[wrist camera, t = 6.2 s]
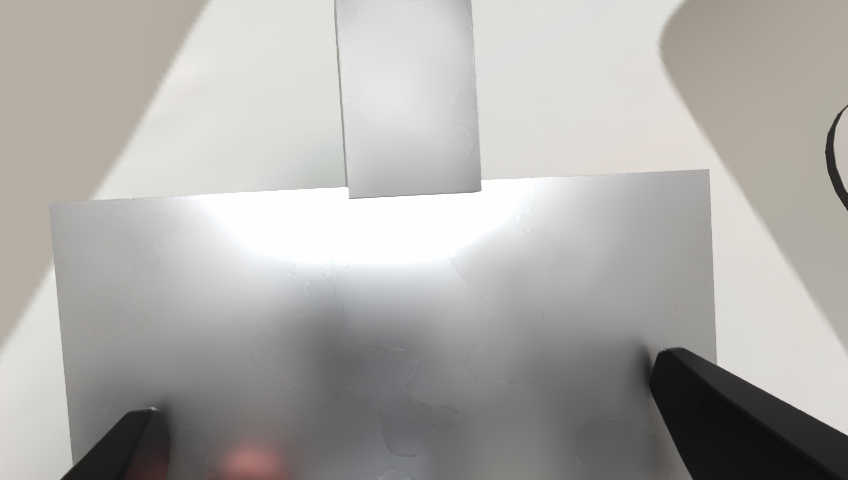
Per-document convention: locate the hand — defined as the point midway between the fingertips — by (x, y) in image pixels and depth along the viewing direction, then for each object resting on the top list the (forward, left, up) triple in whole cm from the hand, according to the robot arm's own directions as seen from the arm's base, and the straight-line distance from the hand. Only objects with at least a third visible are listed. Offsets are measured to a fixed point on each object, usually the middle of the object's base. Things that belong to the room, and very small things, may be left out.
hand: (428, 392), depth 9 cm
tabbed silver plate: (0, 0, -1) cm, 1 cm away
